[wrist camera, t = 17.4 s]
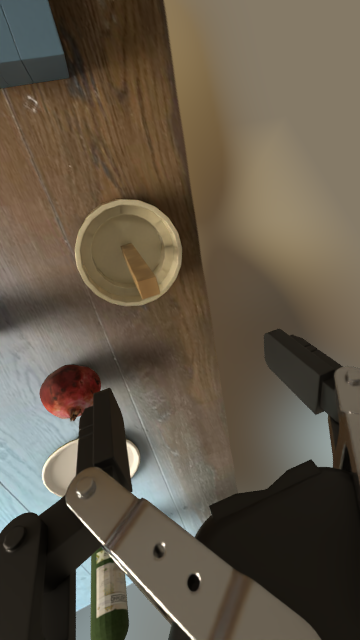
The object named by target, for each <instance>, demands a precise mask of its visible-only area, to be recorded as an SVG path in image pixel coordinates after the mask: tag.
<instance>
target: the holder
mask: <svg viewBox="0 0 360 640" xmlns="http://www.w3.org/2000/svg"><path fill="white" fill-rule="evenodd" d="M66 78H69V73H68V68H67V64H66V60H65V55H64V51H63V48H62V45H61V41H60V38H59V35H58V32H57V28H56V25H55V22H54V18H53V15H52V12H51V8H50V5H49V2H48V0H0V88H6V87H13V86H19V85H26V84H33V83H39V82H46V81H52V80H59V79H66Z"/></svg>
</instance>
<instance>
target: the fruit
mask: <svg viewBox="0 0 360 640" xmlns="http://www.w3.org/2000/svg"><path fill="white" fill-rule="evenodd" d="M100 389H101V381H100V378H99V376H98V375H97V373H96V372H95V371H93V370H92V369H91V368H89V367H85V366H78V365H65V366H62V367H60V368H59V369H57V370H56V371H54V372H53V373H51V374H50V375H49V376H48V377H47V378H46V379H45V381H44V383H43V384H42V386H41V389H40V398H41V401H42V403H43V405H44V407H45V408H46V409H47V410H48V411H49V412H50V413H52V414H53V415H55V416H57V417H59V418H62V419H66V418H70V420H71V421H72V420H73V421H75V419H76V417H78V416H81V415H82V413H83V411H84V409H85V408H88V407H90V406H93V394H94V393H96V392H99V391H100Z"/></svg>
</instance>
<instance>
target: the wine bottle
mask: <svg viewBox="0 0 360 640" xmlns="http://www.w3.org/2000/svg"><path fill="white" fill-rule="evenodd" d="M128 627H129V619H128V606H127V594H126V581H125V573H124V572H123V570H122V569H121V568H120V567H119V566H118V565H117V564H116V563H115V562H114V561H113V559H112V558H111V557H110V556H109V555H108V554H107V553H106V552H105V551H104V550H103V548H102V547H100V548H99V549H98V550H97V551H96V552H94V553H93V554H92V555H91V640H124V639H125V637H126V635H127V632H128Z"/></svg>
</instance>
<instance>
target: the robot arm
mask: <svg viewBox="0 0 360 640" xmlns="http://www.w3.org/2000/svg"><path fill="white" fill-rule="evenodd" d="M264 352H265V361H266V363H267V365H268V367H269V368H270V369H271V370H272V371H273V372H274V373H275V374H276V375H277V376H278V377H279V378H280V379H281V380H282V381H283V382H284V383H285V384H286V385H287V386H288V387H289V388H290V389H291V390H292V391H293V392H294V393H295V394H296V395H297V397H298V398H299V399H300V400H302V402H303V403H304V404H305V405H307V407H308V408H309V409H310V410H312V412H313V413H314V414H319V413H321V412H324V411H325V412H326V413H327V414H328V423H329V431H330V439H331V446H332V453H333V468H330V467H317V466H316V465H315V463H314V462H313V461H312V460H309V461H307V462H304V463H302V464H300V465H298V466H296V467H293V468H291V469H289V470H287V471H286V472H285V473H284V474H283V475H282V476H281V477H280V478H279V479H278V480H276V481H275V482H274V483H273V484H272V485H271V486H270V487H269V488H268V489H265V490H260V491H253V492H245V493H238V494H234V495H232V496H230V497H228V498H225V499H223V500H221V501H219V502H217V503H215V504H212V505H210V506H209V507H210V511H211V514H212V515H211V516H210V517H209V518H208V519H207V520H206V521H205V522H204V523H203V525H202V526H201V527H200V529H199V530H198V532H197V534H196V536H195V537H193V536H192V535H191V534H189V533H188V532H187V531H186V530H184V529H183V528H182V527H181V526H179V525H178V524H177V523H176V522H174V521H173V520H172V519H170V518H169V517H168V516H167V515H165V514H164V513H163V512H162V511H160V510H159V509H158V508H157V507H155V506H154V505H153V504H152V503H150V502H149V501H147V500H146V499H144V498H141V499H138V498H137V497H136V496H134V495H133V494H132V493H131V492H132V484H131V476H130V468H129V460H128V452H127V444H126V436H125V428H124V421H123V417H122V413H121V411H120V408H119V406H118V404H117V401H116V399H115V397H114V395H113V393H112V390H111V389H110V388H107V389H104V390H102V391H99V392H96V393H94V394H93V406H90V407H88V408H85V409H84V411H83V413H82V415H81V417H80V422H79V436H78V438H79V440H78V451H77V466H76V476H75V477H74V478H73V480H72V481H71V482H70V484H69V486H68V488H67V491H66V494H65V495H64V496H63V497H62V498H61V499H60V500H59V501H58V502H56V503H55V504H54V505H52V506H51V507H50V508H48V509H47V510H46V511H44V512H43V513H42V514H40V515H39V516H38V515H37V514H35V513H32V512H28V513H24V514H22V515H20V516H18V517H16V518H15V519H13V520H12V521H11V522H10V523H9V524H8V525H7V526H6V527H5V528H4V529H3V530H2V532H1V533H0V640H76V569H77V568H78V567H79V566H80V565H81V564H82V563H83V562H84V561H86V560H87V559H88V558H89V557H90V556H91V555H92V554H93V553H94V552H96V551H97V550H98V549H99V548H100V547H102V548H103V550H104V551H105V552H106V553H107V554H108V555H109V556H110V557H111V558H112V559H113V561H114V562H115V563H116V564H117V565H118V566H119V567H120V568H121V569H122V570H123V572H124V573H125V574H126V575H127V576H128V577H129V578H130V579H131V580H132V581H133V583H134V584H135V585H136V586H137V587H138V588H139V589H140V591H141V592H142V593H143V594H144V595H145V596H146V598H147V599H148V600H149V601H150V602H151V603H152V604H153V605H154V606H155V607H156V609H158V611H159V612H160V613H161V614H162V615H163V616H164V617H165V619H166V620H167V621H168V622H169V623H170V624H171V630H170V634H169V638H168V640H360V368H356V367H343V366H341V365H340V364H338V363H337V362H336V361H334V360H333V359H331V358H330V357H328V356H327V355H326V354H324V353H322V352H321V351H320V350H317V348H316V347H314V346H313V345H311V344H310V343H308V342H307V341H306V340H304V339H303V338H300V337H297V336H294V335H290V336H289V335H288V334H286V333H285V332H284V331H282V330H281V329H277V330H274V331H271V332H268V333H266V334H265V335H264Z"/></svg>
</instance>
